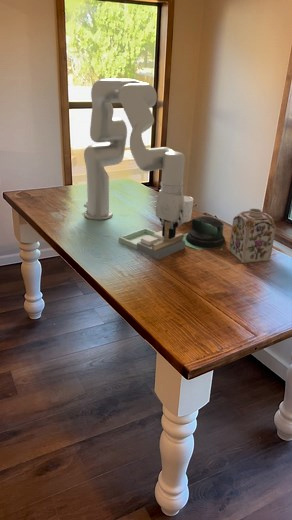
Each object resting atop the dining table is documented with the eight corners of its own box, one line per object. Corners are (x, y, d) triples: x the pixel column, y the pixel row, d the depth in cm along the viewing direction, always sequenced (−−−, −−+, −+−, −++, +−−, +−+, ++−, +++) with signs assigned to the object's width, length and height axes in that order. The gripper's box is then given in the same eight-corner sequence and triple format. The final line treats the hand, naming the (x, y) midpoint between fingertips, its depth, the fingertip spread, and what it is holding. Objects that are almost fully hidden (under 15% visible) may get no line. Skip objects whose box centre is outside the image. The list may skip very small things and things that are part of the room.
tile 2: (153, 237, 164) (153, 233, 164) (161, 234, 167) (161, 230, 167) (162, 240, 161) (162, 236, 161) (169, 237, 164) (170, 233, 164)
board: (136, 250, 160) (136, 242, 159) (163, 239, 170) (163, 232, 169) (158, 259, 153) (158, 252, 152) (184, 248, 163) (185, 241, 162)
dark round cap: (238, 240, 173) (241, 219, 169) (213, 255, 159) (216, 232, 154) (197, 228, 184) (199, 207, 180) (170, 241, 169) (172, 219, 165)
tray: (118, 242, 166) (118, 237, 165) (145, 232, 176) (145, 227, 175) (136, 250, 160) (136, 244, 159) (163, 239, 170) (163, 234, 169)
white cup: (191, 217, 195) (193, 196, 190) (191, 223, 188) (193, 201, 183) (174, 216, 195) (175, 195, 191) (173, 222, 188) (175, 200, 184)
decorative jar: (241, 263, 153) (248, 216, 145) (227, 250, 163) (233, 205, 155) (271, 261, 156) (279, 214, 148) (255, 248, 166) (262, 204, 158)
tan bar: (151, 248, 154) (152, 225, 150) (179, 237, 164) (181, 215, 160) (155, 250, 152) (157, 227, 148) (184, 239, 163) (186, 217, 159)
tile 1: (140, 241, 160) (140, 238, 159) (148, 238, 163) (149, 235, 162) (149, 245, 157) (149, 241, 156) (157, 242, 160) (157, 238, 159)
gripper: (147, 185, 151) (145, 232, 159) (182, 195, 141) (178, 246, 149) (161, 181, 156) (159, 228, 164) (196, 191, 146) (192, 240, 154)
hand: (168, 236), depth 157 cm, fingers closed on tan bar, 2 cm apart
